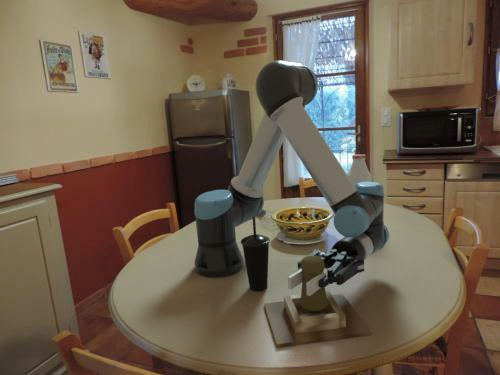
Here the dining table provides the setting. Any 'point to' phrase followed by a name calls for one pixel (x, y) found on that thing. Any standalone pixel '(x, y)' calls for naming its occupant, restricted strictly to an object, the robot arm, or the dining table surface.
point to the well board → (313, 321)
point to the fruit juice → (359, 170)
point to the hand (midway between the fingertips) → (298, 286)
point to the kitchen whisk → (264, 214)
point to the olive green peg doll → (310, 270)
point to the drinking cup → (256, 259)
